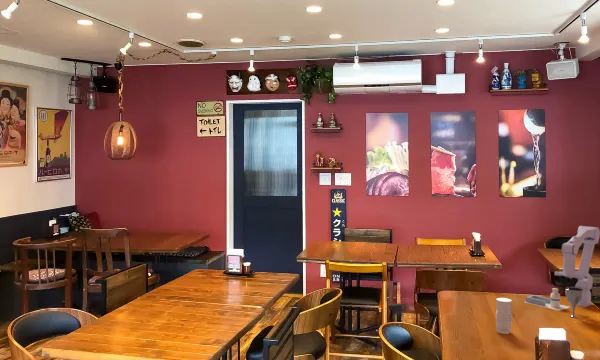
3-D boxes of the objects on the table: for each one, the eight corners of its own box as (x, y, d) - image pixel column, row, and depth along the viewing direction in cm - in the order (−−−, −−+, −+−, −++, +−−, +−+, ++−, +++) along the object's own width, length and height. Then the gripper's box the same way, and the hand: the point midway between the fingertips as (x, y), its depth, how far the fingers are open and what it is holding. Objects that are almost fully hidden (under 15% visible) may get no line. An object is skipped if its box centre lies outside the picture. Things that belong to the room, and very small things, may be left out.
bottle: (552, 304, 283) (553, 287, 283) (561, 306, 280) (561, 289, 279) (548, 306, 280) (549, 288, 280) (557, 308, 277) (557, 290, 276)
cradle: (535, 299, 295) (535, 294, 295) (570, 308, 279) (570, 302, 279) (523, 303, 288) (523, 297, 288) (559, 311, 272) (559, 306, 272)
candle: (509, 335, 235) (510, 302, 235) (493, 332, 239) (494, 300, 238) (512, 331, 241) (513, 299, 240) (497, 328, 245) (497, 297, 244)
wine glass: (584, 321, 257) (585, 291, 256) (567, 319, 258) (568, 290, 258) (579, 316, 265) (580, 287, 264) (562, 315, 266) (563, 286, 265)
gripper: (551, 264, 277) (551, 289, 277) (579, 269, 265) (579, 295, 266) (558, 262, 281) (557, 287, 282) (586, 267, 269) (585, 293, 270)
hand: (568, 291), depth 274 cm, fingers open, 3 cm apart
